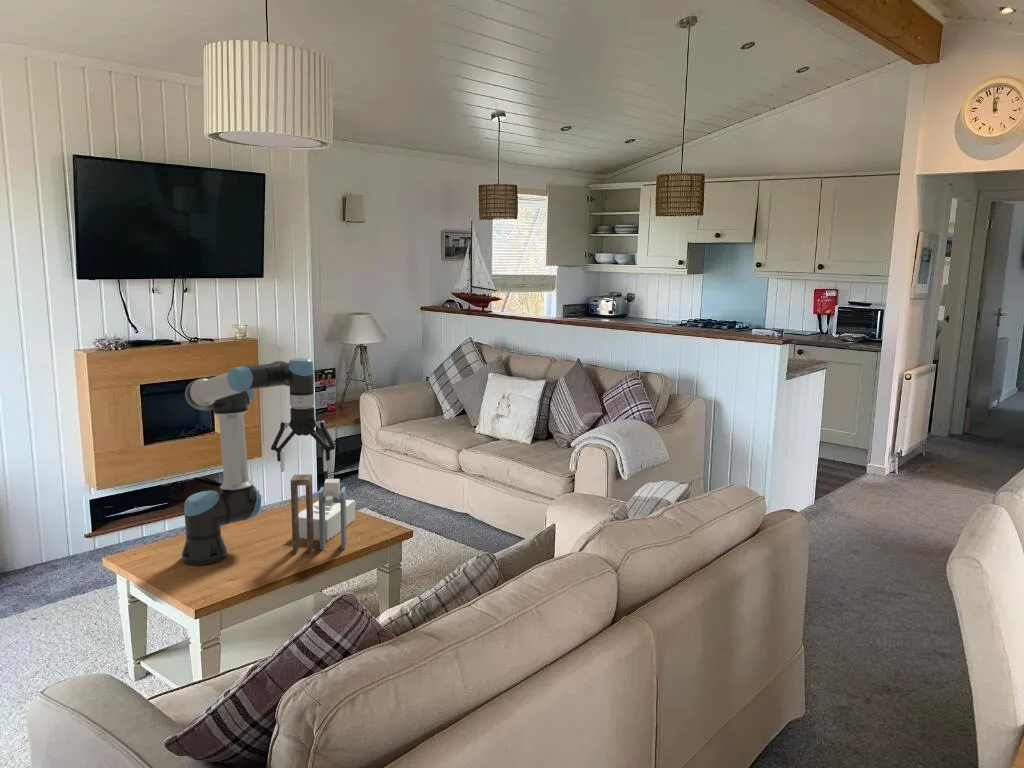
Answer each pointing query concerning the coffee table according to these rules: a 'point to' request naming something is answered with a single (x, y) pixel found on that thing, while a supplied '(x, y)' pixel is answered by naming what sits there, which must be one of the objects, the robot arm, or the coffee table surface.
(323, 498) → the short stand
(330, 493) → the plug
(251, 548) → the coffee table surface
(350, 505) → the tissue box
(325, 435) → the robot arm
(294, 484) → the tall stand
